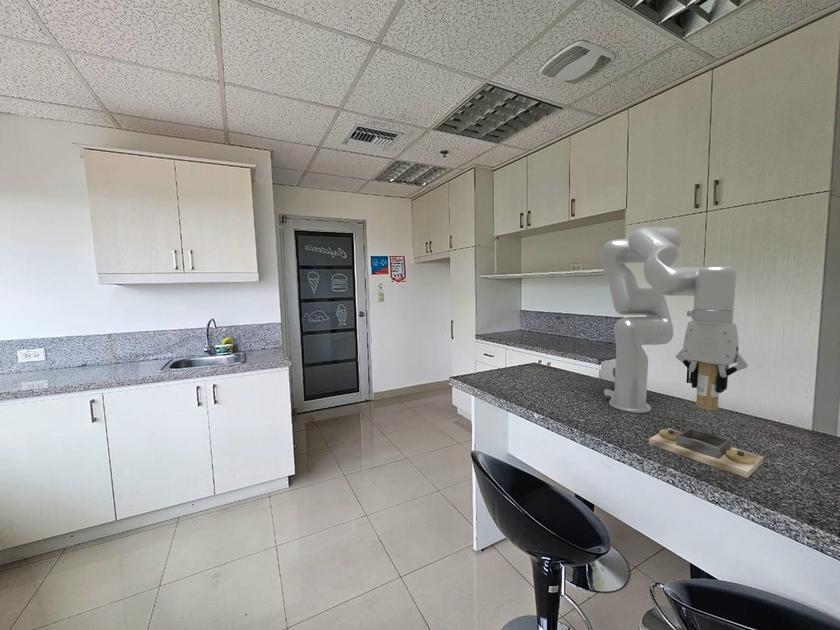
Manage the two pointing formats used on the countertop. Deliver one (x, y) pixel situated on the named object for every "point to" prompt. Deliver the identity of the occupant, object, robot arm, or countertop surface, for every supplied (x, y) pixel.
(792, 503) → the countertop surface
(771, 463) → the countertop surface
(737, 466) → the board
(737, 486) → the countertop surface
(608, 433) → the countertop surface
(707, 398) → the sprinkles bottle
